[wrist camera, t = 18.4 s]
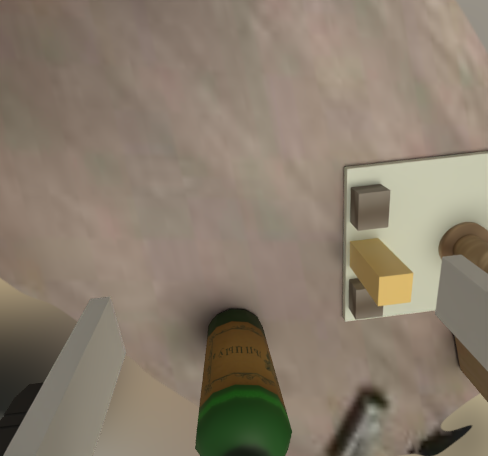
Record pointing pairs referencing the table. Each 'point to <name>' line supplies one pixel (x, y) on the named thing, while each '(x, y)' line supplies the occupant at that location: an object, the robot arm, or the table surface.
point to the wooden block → (472, 369)
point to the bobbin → (466, 243)
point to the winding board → (418, 216)
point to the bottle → (240, 392)
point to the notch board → (364, 218)
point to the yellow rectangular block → (381, 272)
